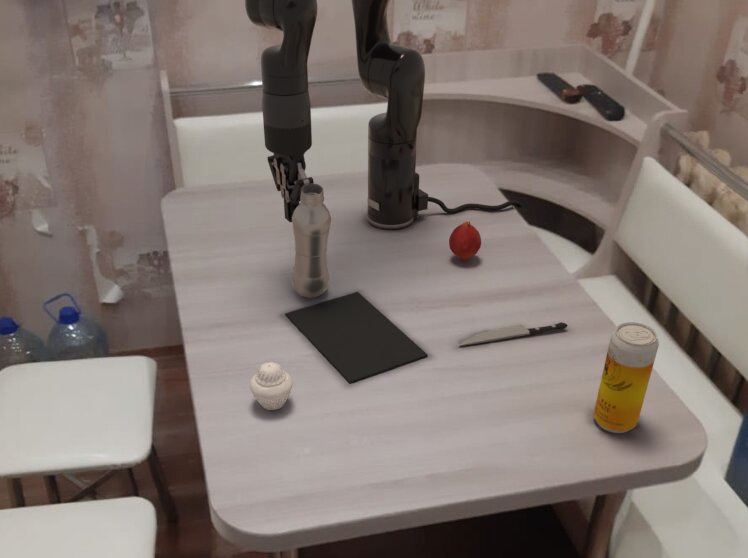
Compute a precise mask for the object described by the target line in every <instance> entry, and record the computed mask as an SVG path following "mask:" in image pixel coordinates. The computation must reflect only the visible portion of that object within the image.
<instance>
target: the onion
mask: <svg viewBox="0 0 748 558" xmlns="http://www.w3.org/2000/svg"><path fill="white" fill-rule="evenodd" d="M481 237H482V236H481V234H480V232H479V230H478V229H477V228H476V227H475V226H474V225H472V224H471V220H469V219H468V220H465V221H464V222H462V223H460V224H459V225H457V226H456V227H455V228H454V229H453V230H452V232H451V233H450V236H449V239H448V246H449V250H450V251H451V253H452V254H454V256H456V257H457V258H459V259H460V260H461V261H468V260H469V259H470V258H472V257H475V256H476V255H477V254H478V252H479V250H480V249H481V246H482V238H481Z"/></svg>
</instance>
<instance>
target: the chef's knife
mask: <svg viewBox="0 0 748 558" xmlns="http://www.w3.org/2000/svg"><path fill="white" fill-rule="evenodd" d="M566 328H568V324H567V323H565V322H558V323H554V324H551V325H546V326H538V327H530V328H527V327H525V326H523V325H522V324H518V325H513V326H509V327H502V328H498V329H492V330H488V331H483V332H480V333H477V334H474V335H473V336H471V337H468V338H466V339H464V340H463V341H462V342H460V343H459V344H458V345H457V346H458V347H463V346H469V345H477V344H482V343H483V344H484V343H488V342H489V343H490V342H495V341H501V340H506V339H511V338H518V337H523V336H530V335H536V334H541V333H546V332H552V331H557V330H564V329H566Z"/></svg>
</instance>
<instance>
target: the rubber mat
mask: <svg viewBox="0 0 748 558" xmlns="http://www.w3.org/2000/svg"><path fill="white" fill-rule="evenodd" d="M284 314H285V317H286V318H288V320H289V321H290V322H291V323H292V324H293V325H294V327H296V328H297V329H298V330H299V331H300V332H301V333H302V335H304V337H305V338H306V339H307V341H309V342H310V343H311V344H312V346H314V347H315V348H316V349H317V351H318V352H319V353H320V354H321V355H322V356H323V357H324V358H325V359H326V361H328V362H329V363H330V364H331V366H332V367H333V368H334V369H335V370H336V371H337V372H338V373H339V374H340V375H341V376H342V377H343V378H344V379H345V380H346V382H347V383H348V384H353V383H357V382H359V381H362V380H364V379H368V378H371V377H373V376H377V375H379V374H381V373H384V372H388V371H390V370H393V369H397V368H399V367H402V366H404V365H407V364H411V363H413V362H417V361H419V360H421V359H424V358H427V357H428V353H427V352H426V351H425V350H423V349H422V348H421V347H420V346H419V345H418V344H417V343H415V342H414V341H413V339H411V338H410V337H409V336H408V335H407V334H406V333H405V332H403V330H401V329H400V328H399V327H398V326H396V325H395V324H394V323H393V322H392V321H391V320H390V319H389V318H387V316H385V314H383V313H382V312H381V311H380V310H379V309H378V308H377V307H375V306H374V304H372V303H371V302H370V301H369V300H368V299H366V298H365V297H364V296H363V295H362V294H361V293H360V292H359V291H354V292H352V293H348V294H344V295H342V296H338V297H335V298H331V299H327V300H325V301H322V302H319V303H314V304H312V305H308V306H305V307H301V308H298V309H295V310H292V311H287V312H285V313H284Z"/></svg>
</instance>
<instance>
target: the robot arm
mask: <svg viewBox="0 0 748 558" xmlns="http://www.w3.org/2000/svg"><path fill="white" fill-rule="evenodd" d="M390 1H391V0H351V6H352V13H353V19H354V20H353V21H354V32H355V48H356V49H355V50H356V63H357V71H358V77H359V80H360V81H359V82H360V83H361V86H362V87H363V88H364V90H365V91H366V92H368V93H369V94H371V95H373V96H376V97H379V98H382V99H386V100H387V106H386V112H382V113H378V114H376V115H373V116H372V117H371V118H370V119H369V120H368V123H367V212H366V213H367V214H366V220H367V222H368V223H369V224H370V225H372V226H373V227H376V228H379V229H382V230H383V229H384V230H398V229H404V228H406V227H409V226H410V225H412V224H413V223H414V221H418V220H419V219H418V217H419V212H421V211H426V210H428V208H429V207H428V206H429V202H430V203H433V204H436V205H438V206H439V207H440V209H441V210H442V211H443V212H444V213H447V214H457V213H459V212H462V211H464V210H468V209H474V210H475V209H476V210H482V211H495V212H496V211H502V210H503V209H506V208H508V207H511V206H516V207H517V208H520V209H521V208H524V205H523V204H522V203H521V202H520V201H518V200H516V199H512V200H507V201H506V202H504V203H501V204H498V205H489V204H482V203H472V202H471V203H465V204H462V205H459V206H456V207H454V208H448V207H447V205H446V204H445V203H444V202H443V200H441V199H438V198H436V197H432V196H429V194H428V193H427V192H425V191H424V190H422V189H420V174H419V173H418V172H417V171H416V167H417V165H416V164H417V141H418V128H419V125H420V122H421V118H422V113H423V102H424V92H425V83H426V82H425V81H426V65H425V60H424V58H423V56H422V54H421V52H419V51H418V50H417V49H414V48H411V47H407V46H404V45H399V44H396V43H392V40H391V37H390V32H389V25H388V7H389V4H390ZM244 8H245V12H246V15H247V17H248V19H249V21H250V22H251V23H252V24H253V25H254V26H256V27H259V28H263V29H268V30H273V31H279V32H282V34H283V37H282V41H281V44H273V45H270V46H268V47H266V48H264V49H263V51H262V53H261V56H260V70H261V73H260V74H261V84H262V86H261V87H262V98H261V99H262V100H261V101H262V102H261V108H262V110H261V111H262V121H263V123H262V124H263V137H264V147H265V149H266V150H267V151H269V152H270V153H272V155H269V156H267V163H268V165H269V166H268V167H269V169H270V172H271V176H272V179H273V182H274V185H275V188H276V191H277V192H280V196H281V198H282V199H283V209H284V210H283V211H284V219H285V220H287V222H289V223H292V216H293V213H294V210H295V209H296V208H297V206H298V205H299V204H300V203H301V201H300V196H301V188H302V186H304V185H306V184H310V183H314V184H315V182H314V178H313V177H312V176H310V177H308V176H307V173H306V172H305V171H306V170H307V169H306V168H307V163H306V159H305V154H306V153H307V152H308V151H309V150H311V148H312V144H313V133H312V107H311V97H310V93H309V92H310V91H309V70H308V62H309V61H308V60H309V55H310V51H311V45H312V40H313V36H314V31H315V26H316V23H317V22H316V21H317V18H318V1H317V0H244Z"/></svg>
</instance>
